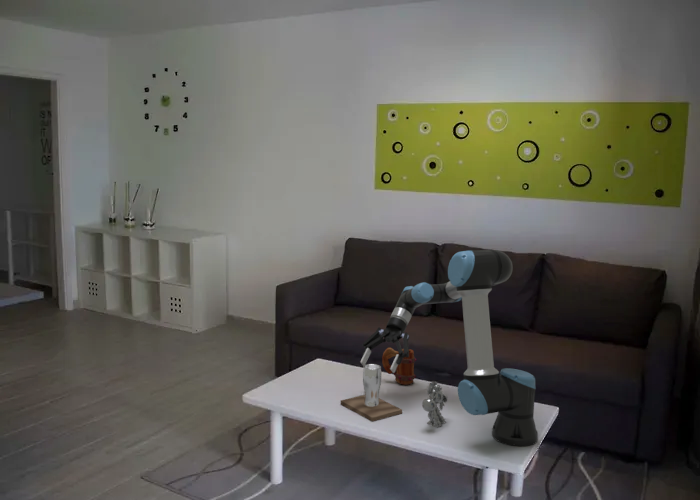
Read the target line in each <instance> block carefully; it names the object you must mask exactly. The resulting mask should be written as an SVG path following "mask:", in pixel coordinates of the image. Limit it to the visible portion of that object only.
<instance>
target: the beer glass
mask: <svg viewBox="0 0 700 500" xmlns="http://www.w3.org/2000/svg"><path fill="white" fill-rule="evenodd" d="M381 384H382V366H381V365H379V364H376V363H368V364H367V363H366V364H365V365H364V366H363V369H362V385H363V391H364V395H365V398H364V403H363V405H364V406H365V407H368V408H376V407H378V406H379V398H380V396H379V395H380V390H381Z"/></svg>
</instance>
